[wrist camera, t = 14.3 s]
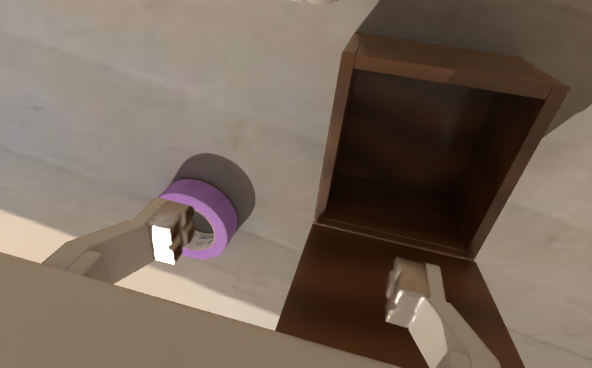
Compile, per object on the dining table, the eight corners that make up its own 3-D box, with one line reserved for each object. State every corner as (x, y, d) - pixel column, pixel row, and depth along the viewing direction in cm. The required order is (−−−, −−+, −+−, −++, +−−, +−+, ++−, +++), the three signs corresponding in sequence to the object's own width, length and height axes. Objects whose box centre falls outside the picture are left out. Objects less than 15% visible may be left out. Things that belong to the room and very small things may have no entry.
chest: (354, 32, 32) (342, 51, 24) (520, 57, 30) (570, 87, 22) (328, 173, 41) (312, 224, 32) (455, 200, 39) (473, 261, 30)
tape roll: (231, 252, 52) (221, 270, 49) (163, 227, 53) (149, 243, 50) (243, 195, 46) (232, 211, 42) (165, 166, 46) (149, 180, 43)
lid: (256, 384, 17) (248, 442, 19) (581, 485, 15) (532, 538, 17) (312, 223, 32) (304, 265, 34) (476, 261, 30) (457, 303, 32)
